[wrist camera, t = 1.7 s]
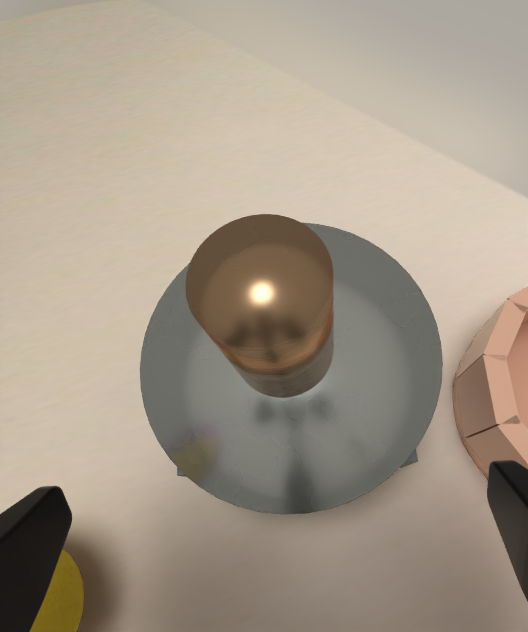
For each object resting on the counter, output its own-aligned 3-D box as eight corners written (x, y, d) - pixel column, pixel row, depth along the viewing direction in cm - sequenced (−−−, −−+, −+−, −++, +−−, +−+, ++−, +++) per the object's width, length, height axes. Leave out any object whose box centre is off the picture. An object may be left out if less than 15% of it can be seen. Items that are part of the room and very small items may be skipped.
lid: (507, 405, 15) (628, 344, 9) (221, 581, 14) (136, 649, 8) (330, 191, 20) (328, 57, 14) (110, 314, 19) (5, 229, 13)
